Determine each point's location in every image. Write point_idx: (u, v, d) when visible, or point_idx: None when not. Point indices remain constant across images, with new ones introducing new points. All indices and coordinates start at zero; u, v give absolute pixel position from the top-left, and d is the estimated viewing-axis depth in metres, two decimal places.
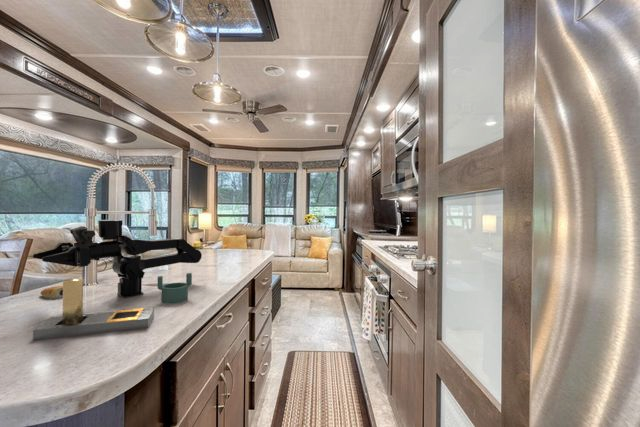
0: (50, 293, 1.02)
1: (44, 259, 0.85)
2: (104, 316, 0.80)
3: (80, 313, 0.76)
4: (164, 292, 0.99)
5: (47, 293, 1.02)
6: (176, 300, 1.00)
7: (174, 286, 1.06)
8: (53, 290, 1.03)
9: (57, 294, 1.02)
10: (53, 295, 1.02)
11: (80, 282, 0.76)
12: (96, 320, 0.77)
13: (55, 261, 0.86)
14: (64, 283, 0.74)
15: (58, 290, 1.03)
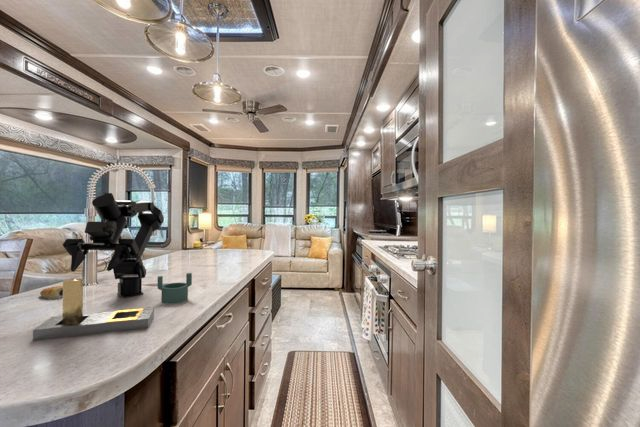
0: (50, 293, 1.02)
1: (109, 269, 0.85)
2: (104, 316, 0.80)
3: (80, 313, 0.76)
4: (164, 292, 0.99)
5: (47, 293, 1.02)
6: (176, 300, 1.00)
7: (174, 286, 1.06)
8: (53, 290, 1.02)
9: (57, 294, 1.02)
10: (53, 295, 1.01)
11: (80, 282, 0.76)
12: (96, 320, 0.77)
13: (116, 264, 0.88)
14: (64, 283, 0.74)
15: (58, 290, 1.03)
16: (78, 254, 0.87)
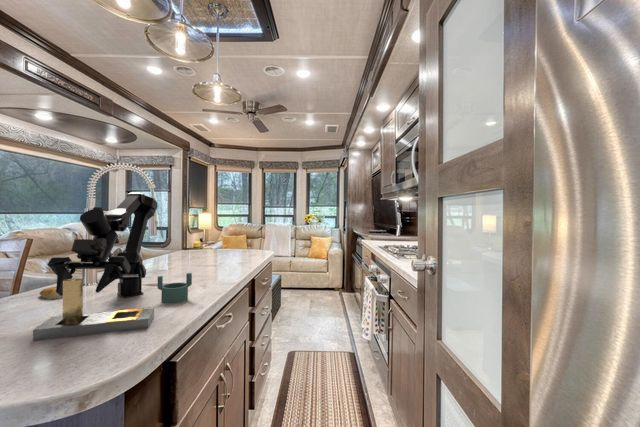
0: (49, 293, 1.02)
1: (98, 290, 0.79)
2: (104, 316, 0.80)
3: (80, 313, 0.76)
4: (164, 292, 0.99)
5: (46, 293, 1.02)
6: (176, 300, 1.00)
7: (174, 286, 1.06)
8: (52, 290, 1.02)
9: (56, 294, 1.02)
10: (53, 296, 1.01)
11: (80, 282, 0.76)
12: (96, 320, 0.77)
13: (105, 285, 0.82)
14: (64, 283, 0.74)
15: None
16: (64, 274, 0.80)
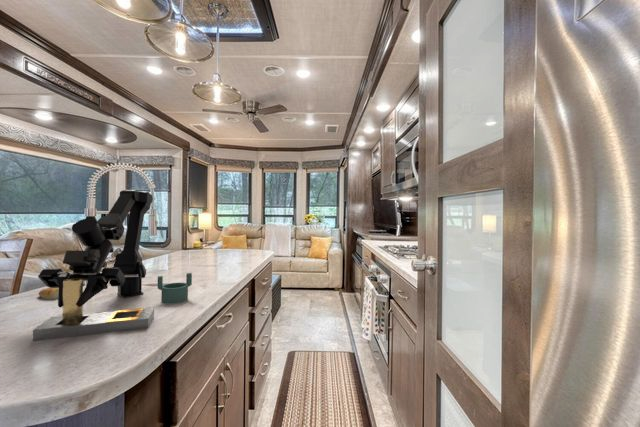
0: (49, 294, 1.01)
1: (80, 304, 0.76)
2: (104, 316, 0.80)
3: (80, 313, 0.76)
4: (164, 292, 0.99)
5: (46, 294, 1.02)
6: (176, 300, 1.00)
7: (174, 286, 1.06)
8: (52, 291, 1.02)
9: (56, 294, 1.02)
10: (52, 296, 1.01)
11: (80, 282, 0.76)
12: (96, 320, 0.77)
13: (89, 298, 0.78)
14: (64, 283, 0.74)
15: (57, 290, 1.02)
16: None
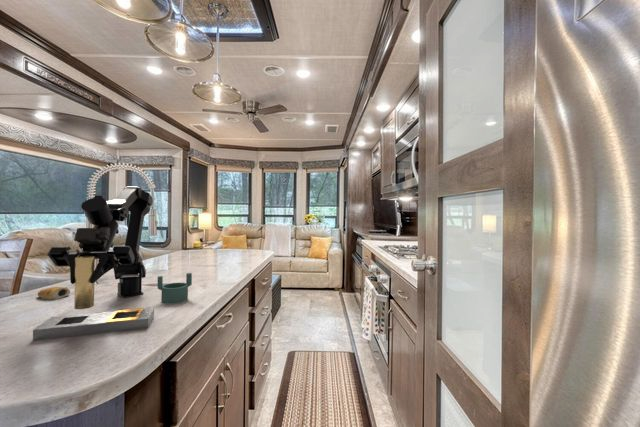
0: (48, 294, 1.01)
1: (93, 280, 0.76)
2: (104, 316, 0.80)
3: (92, 290, 0.77)
4: (164, 292, 0.99)
5: (45, 294, 1.01)
6: (176, 300, 1.00)
7: (174, 286, 1.06)
8: (51, 291, 1.02)
9: (56, 295, 1.01)
10: (52, 296, 1.01)
11: (92, 259, 0.77)
12: (96, 320, 0.77)
13: (100, 275, 0.79)
14: (77, 260, 0.75)
15: (56, 291, 1.02)
16: None
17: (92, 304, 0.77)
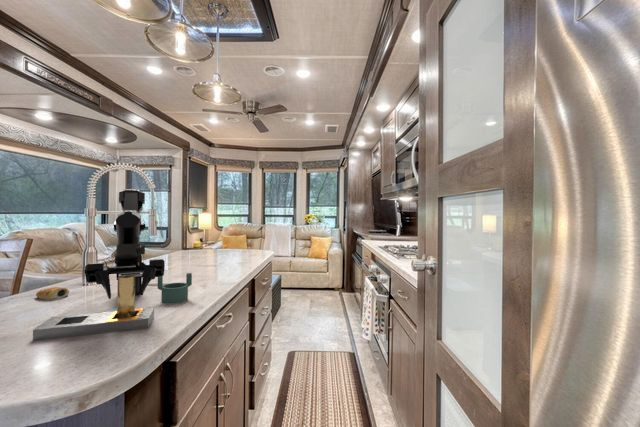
0: (47, 294, 1.00)
1: None
2: (104, 316, 0.80)
3: (134, 308, 0.81)
4: (164, 292, 0.99)
5: (44, 294, 1.01)
6: (176, 300, 1.00)
7: (174, 286, 1.06)
8: (50, 291, 1.01)
9: (55, 295, 1.01)
10: (51, 297, 1.00)
11: (134, 278, 0.81)
12: (96, 320, 0.77)
13: (145, 287, 0.84)
14: (121, 280, 0.79)
15: (56, 291, 1.02)
16: (109, 279, 0.80)
17: None
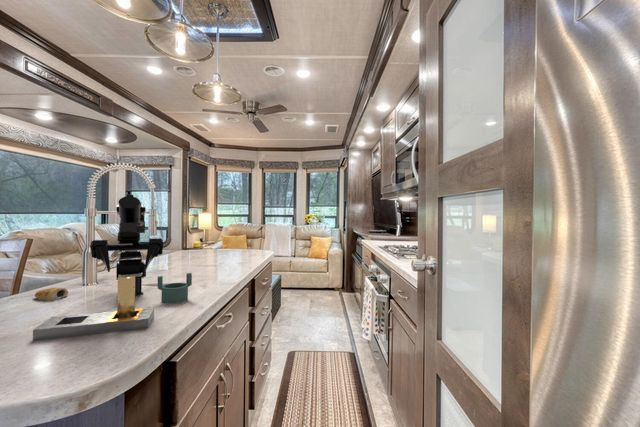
0: (47, 295, 1.00)
1: None
2: (104, 316, 0.80)
3: (134, 308, 0.81)
4: (164, 292, 0.99)
5: (43, 295, 1.00)
6: (176, 300, 1.00)
7: (174, 286, 1.06)
8: (50, 292, 1.01)
9: (54, 296, 1.01)
10: (51, 297, 1.00)
11: (134, 278, 0.81)
12: (96, 320, 0.77)
13: (149, 263, 0.92)
14: (122, 280, 0.79)
15: (55, 291, 1.01)
16: (108, 255, 0.87)
17: None
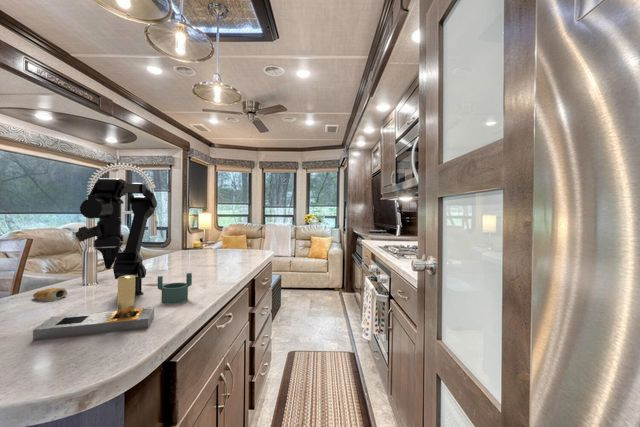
0: (46, 295, 0.99)
1: (108, 267, 0.90)
2: (104, 316, 0.80)
3: (134, 308, 0.81)
4: (164, 292, 0.99)
5: (42, 295, 1.00)
6: (176, 300, 1.00)
7: (174, 286, 1.06)
8: (49, 292, 1.00)
9: (54, 296, 1.00)
10: (50, 297, 0.99)
11: None
12: (96, 320, 0.77)
13: (111, 260, 0.90)
14: (122, 280, 0.79)
15: (54, 292, 1.01)
16: None
17: None
